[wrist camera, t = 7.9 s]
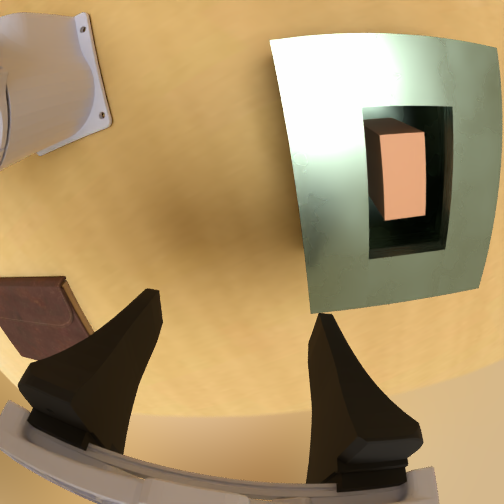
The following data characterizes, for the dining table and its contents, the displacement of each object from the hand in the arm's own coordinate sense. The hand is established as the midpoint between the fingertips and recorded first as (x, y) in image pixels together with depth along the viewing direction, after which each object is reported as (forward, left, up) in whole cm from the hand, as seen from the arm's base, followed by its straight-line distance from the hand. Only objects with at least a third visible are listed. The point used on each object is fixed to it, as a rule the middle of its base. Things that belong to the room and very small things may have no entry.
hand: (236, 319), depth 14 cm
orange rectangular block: (-4, +9, -9) cm, 13 cm away
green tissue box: (-4, +9, -10) cm, 14 cm away
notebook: (+10, -30, -11) cm, 33 cm away
